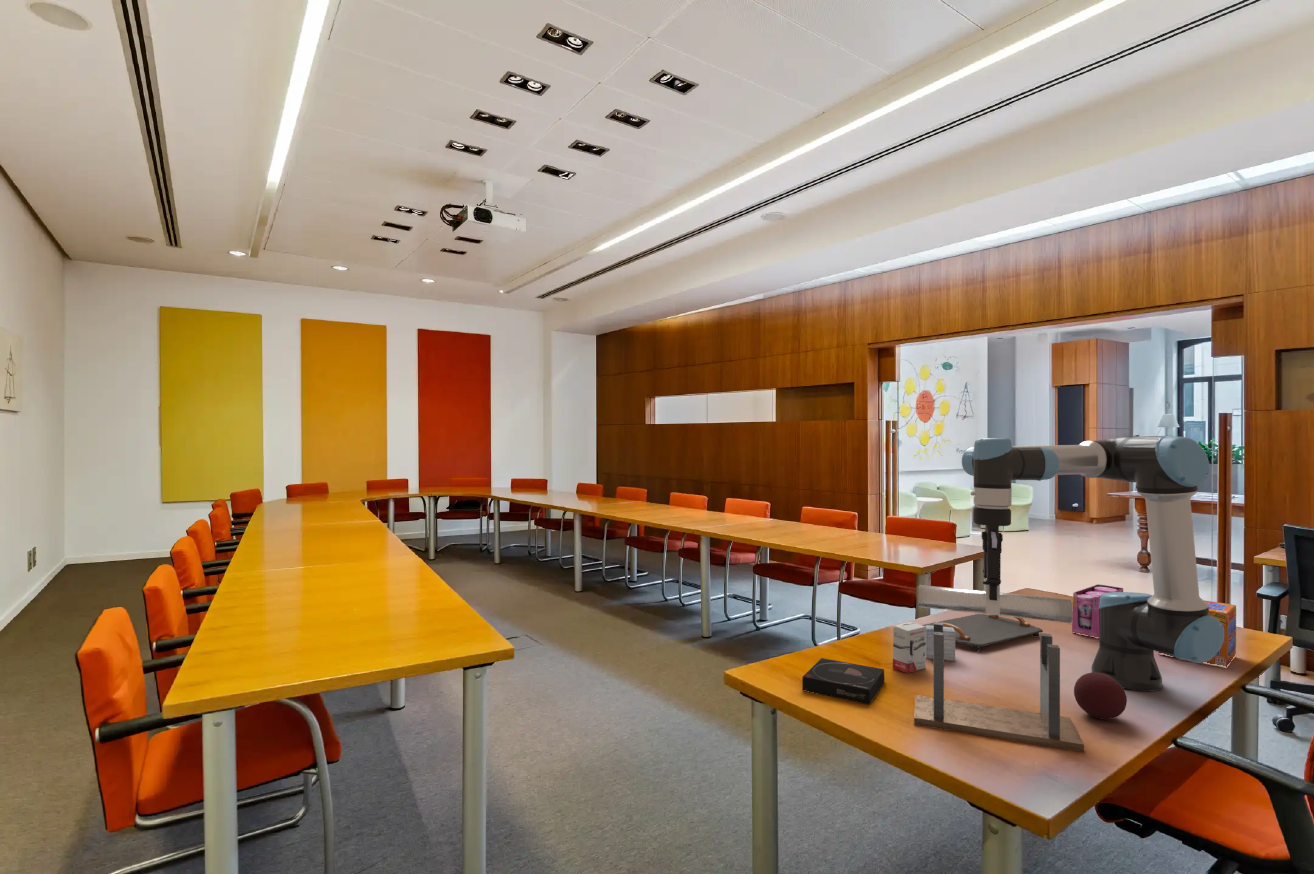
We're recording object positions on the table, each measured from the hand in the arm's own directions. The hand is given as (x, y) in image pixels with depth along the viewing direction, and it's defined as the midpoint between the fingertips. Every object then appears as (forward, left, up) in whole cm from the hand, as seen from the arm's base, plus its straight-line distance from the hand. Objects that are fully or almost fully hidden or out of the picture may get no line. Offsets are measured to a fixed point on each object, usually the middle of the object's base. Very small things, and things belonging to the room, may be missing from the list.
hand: (991, 610), depth 144 cm
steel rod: (0, -1, -1) cm, 1 cm away
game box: (-60, -76, -25) cm, 100 cm away
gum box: (-40, -95, -25) cm, 106 cm away
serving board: (-3, -73, -26) cm, 77 cm away
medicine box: (+10, -44, -25) cm, 51 cm away
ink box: (+18, -31, -25) cm, 43 cm away
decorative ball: (-23, -14, -25) cm, 37 cm away
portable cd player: (+33, -10, -26) cm, 43 cm away
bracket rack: (0, 0, -25) cm, 25 cm away
